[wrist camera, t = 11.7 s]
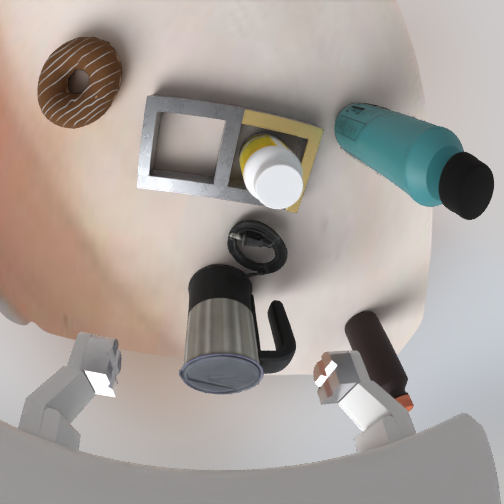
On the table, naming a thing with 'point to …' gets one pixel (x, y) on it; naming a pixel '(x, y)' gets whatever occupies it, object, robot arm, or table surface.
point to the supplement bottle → (271, 171)
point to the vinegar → (378, 356)
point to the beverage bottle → (416, 158)
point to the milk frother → (234, 320)
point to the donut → (97, 92)
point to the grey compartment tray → (220, 182)
